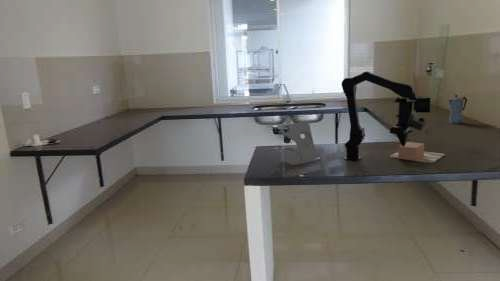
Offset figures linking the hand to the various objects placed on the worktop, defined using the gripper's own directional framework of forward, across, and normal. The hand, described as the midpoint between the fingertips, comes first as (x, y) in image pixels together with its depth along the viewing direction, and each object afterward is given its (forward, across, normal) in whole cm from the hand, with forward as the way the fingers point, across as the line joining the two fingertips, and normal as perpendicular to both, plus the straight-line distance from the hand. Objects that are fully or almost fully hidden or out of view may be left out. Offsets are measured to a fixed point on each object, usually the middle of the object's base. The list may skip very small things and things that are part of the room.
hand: (403, 146), depth 170 cm
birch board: (+8, +15, -2) cm, 17 cm away
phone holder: (+8, -21, +42) cm, 48 cm away
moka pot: (+8, +124, +7) cm, 124 cm away
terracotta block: (+4, +4, 0) cm, 6 cm away
